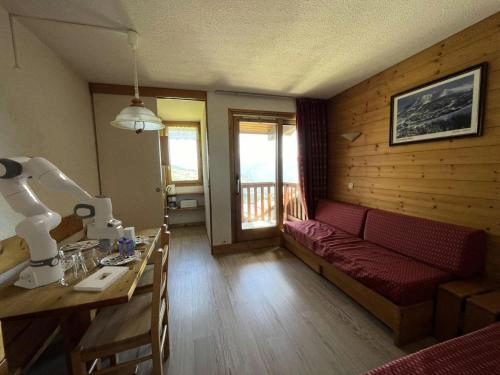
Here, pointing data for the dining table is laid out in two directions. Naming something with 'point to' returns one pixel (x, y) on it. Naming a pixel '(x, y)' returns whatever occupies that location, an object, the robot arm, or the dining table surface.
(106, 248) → the servo block
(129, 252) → the ink cartridge box
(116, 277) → the pocket plate
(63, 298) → the dining table surface
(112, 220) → the robot arm
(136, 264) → the dining table surface
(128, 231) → the skincare box
